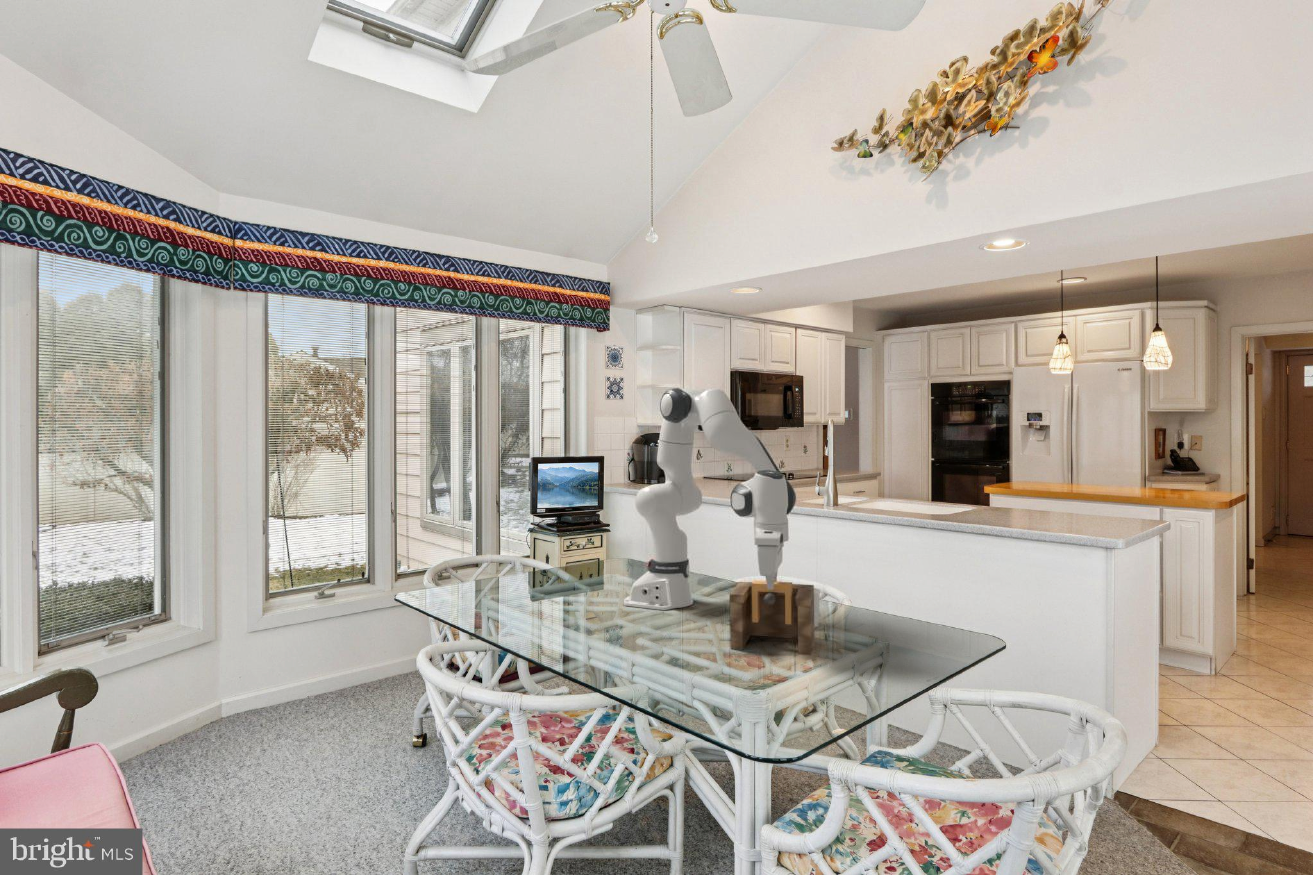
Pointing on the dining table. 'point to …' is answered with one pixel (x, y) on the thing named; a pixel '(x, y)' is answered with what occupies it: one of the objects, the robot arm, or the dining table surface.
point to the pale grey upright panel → (816, 606)
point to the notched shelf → (772, 616)
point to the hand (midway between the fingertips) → (771, 586)
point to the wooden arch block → (778, 587)
